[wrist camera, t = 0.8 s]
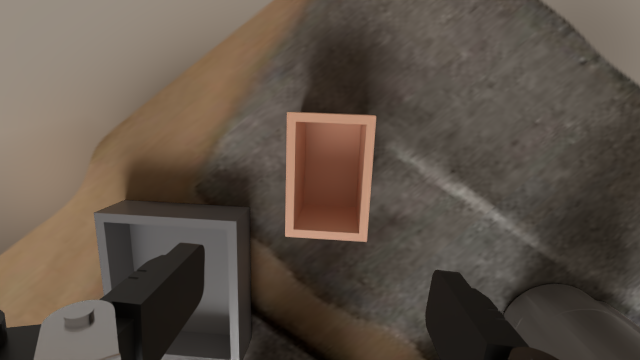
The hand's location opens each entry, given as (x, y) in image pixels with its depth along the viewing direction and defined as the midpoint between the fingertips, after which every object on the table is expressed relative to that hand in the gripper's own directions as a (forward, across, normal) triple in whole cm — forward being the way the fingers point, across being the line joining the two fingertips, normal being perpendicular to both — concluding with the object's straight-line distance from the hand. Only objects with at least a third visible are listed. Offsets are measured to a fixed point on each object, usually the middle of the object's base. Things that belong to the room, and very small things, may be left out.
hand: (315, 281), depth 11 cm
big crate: (+19, +13, +12) cm, 26 cm away
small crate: (+19, 0, -1) cm, 19 cm away
